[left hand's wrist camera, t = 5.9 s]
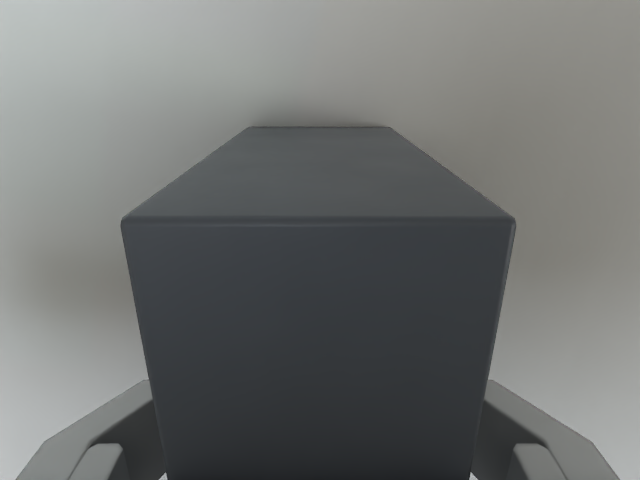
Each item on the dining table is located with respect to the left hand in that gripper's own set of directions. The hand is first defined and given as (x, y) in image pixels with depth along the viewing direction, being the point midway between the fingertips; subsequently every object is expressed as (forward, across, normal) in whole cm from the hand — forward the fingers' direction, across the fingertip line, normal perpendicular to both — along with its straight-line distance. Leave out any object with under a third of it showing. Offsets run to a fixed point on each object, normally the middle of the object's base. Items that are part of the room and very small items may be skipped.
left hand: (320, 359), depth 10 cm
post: (+3, 0, -21) cm, 21 cm away
